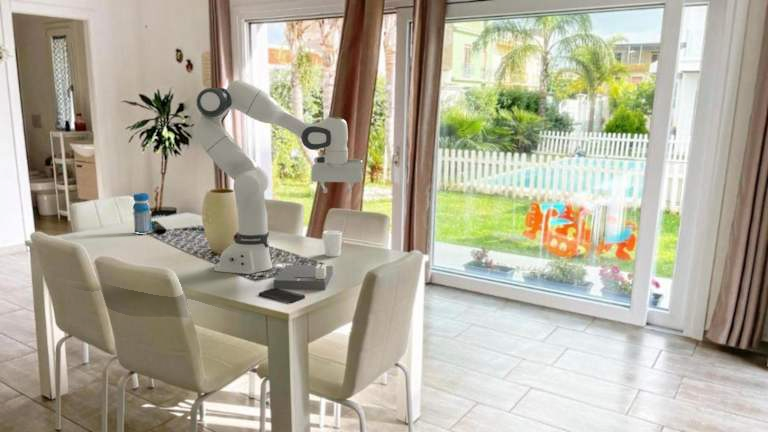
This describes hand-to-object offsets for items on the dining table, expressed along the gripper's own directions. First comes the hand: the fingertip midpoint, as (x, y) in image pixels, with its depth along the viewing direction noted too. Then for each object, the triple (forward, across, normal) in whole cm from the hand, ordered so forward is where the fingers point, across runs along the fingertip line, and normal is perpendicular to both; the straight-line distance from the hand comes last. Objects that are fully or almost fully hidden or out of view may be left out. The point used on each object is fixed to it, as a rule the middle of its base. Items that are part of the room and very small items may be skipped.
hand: (337, 193), depth 228 cm
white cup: (+29, +4, -15) cm, 33 cm away
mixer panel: (+29, +9, +24) cm, 39 cm away
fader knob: (+26, +2, +30) cm, 40 cm away
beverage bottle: (+29, +104, -50) cm, 119 cm away
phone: (+30, +14, +43) cm, 54 cm away
